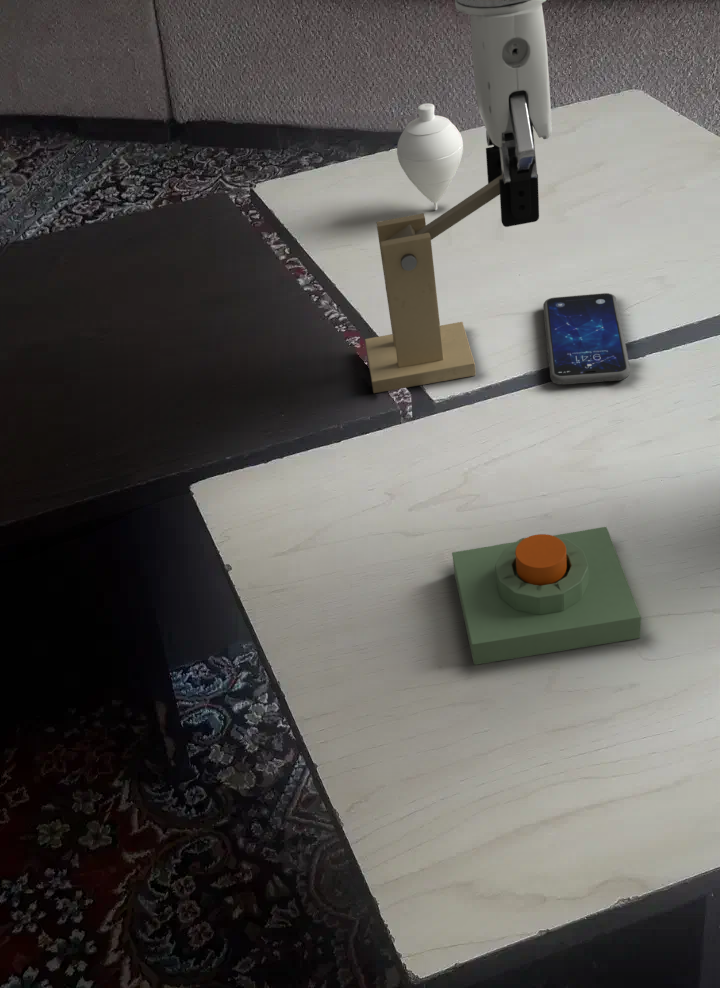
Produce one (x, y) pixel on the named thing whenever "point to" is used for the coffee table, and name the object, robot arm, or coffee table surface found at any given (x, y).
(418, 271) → the lever bracket
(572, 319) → the smartphone
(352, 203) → the coffee table surface
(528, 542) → the button
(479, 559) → the control block
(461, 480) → the coffee table surface
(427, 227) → the press lever
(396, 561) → the coffee table surface
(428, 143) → the spinning top
